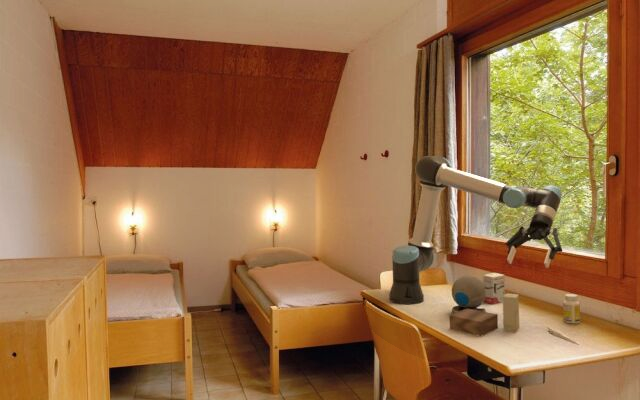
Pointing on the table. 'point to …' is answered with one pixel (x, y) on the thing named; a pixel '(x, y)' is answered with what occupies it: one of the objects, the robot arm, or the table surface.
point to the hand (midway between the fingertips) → (526, 263)
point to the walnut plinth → (474, 322)
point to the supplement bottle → (571, 309)
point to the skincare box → (511, 312)
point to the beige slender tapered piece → (561, 335)
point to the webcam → (468, 294)
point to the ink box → (494, 287)
